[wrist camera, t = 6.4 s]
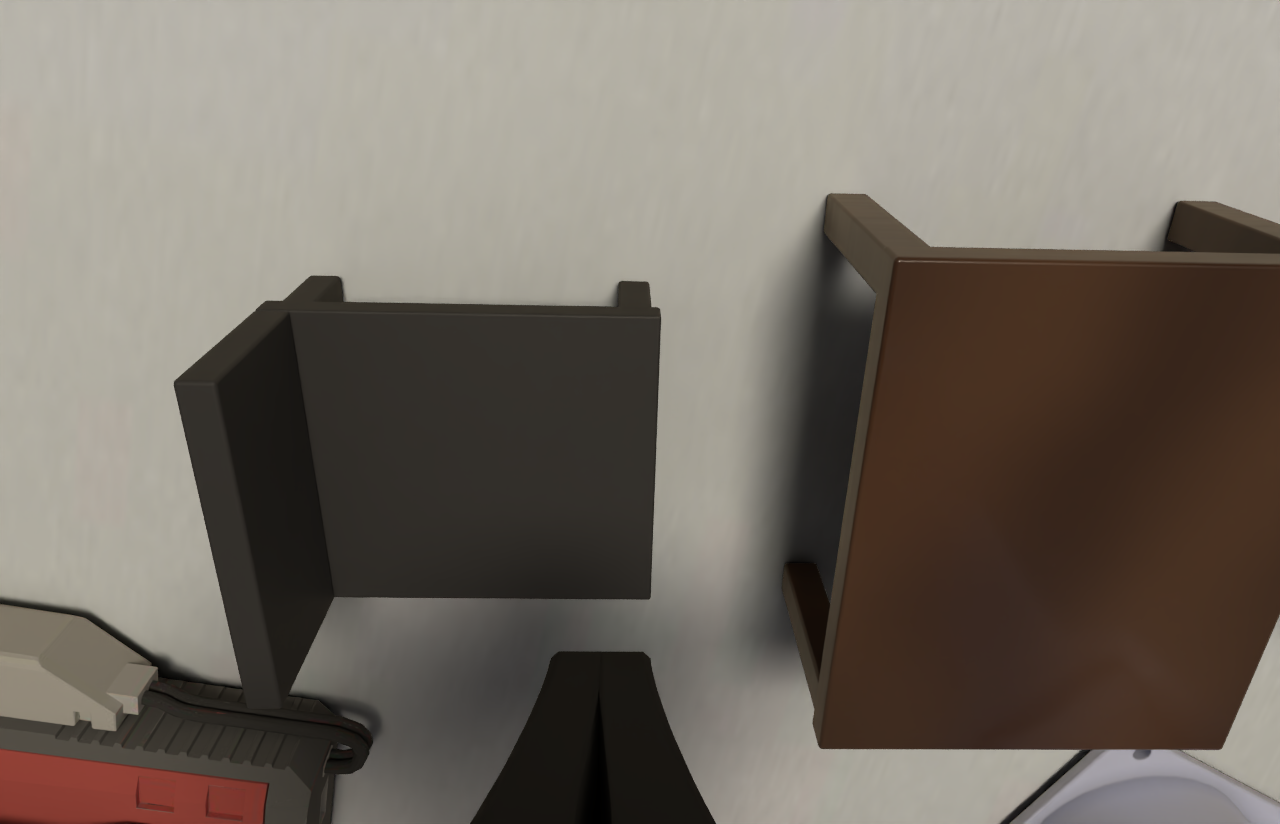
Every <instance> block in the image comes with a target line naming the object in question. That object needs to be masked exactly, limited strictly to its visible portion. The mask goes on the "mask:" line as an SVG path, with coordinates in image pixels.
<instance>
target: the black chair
mask: <svg viewBox="0 0 1280 824" xmlns="http://www.w3.org/2000/svg"><path fill="white" fill-rule="evenodd" d="M660 331H661V314H660V309H659V308H657V307H651V298H650V288H649V283H648V282H634V281H621V282H619V290H618V307H599V306H541V305H483V304H426V303H368V302H343V297H342V289H341V281H340V278H339V277H338V276H310V277H309V278H308V279H306V280H305V281H304V282H303V283H302V284H301V285H300V286H299V287H298V288H297V289H296V290H294V291H293V292H292V293H291V294H290V295H289V296H288V297H287V298H286V299H285V300H283V301H265V302H264V303H263V304H262V305H260V306H259V307H258V308H257V309H256V311H255V312H253V313H252V314H251V315H250V316H249V317H248V318H246V319H245V320H244V321H243V322H242V323H241V324H239V325H238V326H237V327H236V328H235V329H234V330H233V331H231V332H230V333H229V334H228V335H227V336H226V337H225V338H223V339H222V340H221V341H220V342H219V343H218V344H216V345H215V346H214V347H213V348H212V349H211V350H210V351H208V352H207V353H206V354H205V355H204V356H203V357H202V358H200V359H199V360H198V361H197V362H196V363H195V364H193V365H192V366H191V367H190V368H189V369H188V370H187V371H185V372H184V373H183V374H182V375H181V376H180V377H179V378H177V379H176V380H175V381H174V388H175V393H176V397H177V401H178V406H179V410H180V415H181V419H182V423H183V428H184V432H185V437H186V441H187V445H188V450H189V454H190V459H191V463H192V467H193V472H194V476H195V481H196V485H197V489H198V494H199V498H200V503H201V507H202V511H203V516H204V520H205V525H206V529H207V533H208V538H209V542H210V547H211V551H212V555H213V560H214V564H215V569H216V573H217V577H218V582H219V586H220V591H221V595H222V599H223V604H224V608H225V613H226V617H227V621H228V626H229V630H230V635H231V639H232V643H233V648H234V652H235V656H236V661H237V665H238V670H239V674H240V678H241V683H242V687H243V692H244V696H245V700H246V705H247V707H248V708H250V709H280V708H282V706H283V704H284V702H285V700H286V698H287V696H288V694H289V692H290V690H291V687H292V685H293V683H294V681H295V679H296V677H297V675H298V673H299V671H300V668H301V666H302V664H303V662H304V660H305V658H306V656H307V654H308V652H309V649H310V647H311V645H312V643H313V641H314V639H315V637H316V635H317V633H318V630H319V628H320V626H321V624H322V622H323V620H324V618H325V616H326V614H327V611H328V609H329V607H330V605H331V603H332V601H333V599H334V597H387V598H520V599H650V597H651V572H652V545H653V518H654V491H655V465H656V438H657V411H658V385H659V358H660Z"/></svg>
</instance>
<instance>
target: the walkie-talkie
mask: <svg viewBox="0 0 1280 824" xmlns="http://www.w3.org/2000/svg"><path fill="white" fill-rule="evenodd" d="M337 742H338V743H341V744H344V745H347V746H349V747H350V748H352V749H347V750H342V749H337ZM372 744H373V740H372V736H371V733H370V732H369V730H368V729H367V728H366V727H365V726H364V725H363V724H361V723H358V722H356V721H353V720H350V719H348V718H345V717H342V716H335V715H334V714H333V713H332V712H331V711H330V710H328V709H327V708H326V707H325V706H324V705H323V704H322V703H320V702H319V701H318V700H311V699H304V698H300V697H290V696H287V698H286V700H285V702H284V704H283V706H282V708H280V709H250V708H248V707H247V705H246V700H245V696H244V692H243V689H234V688H227V687H222V686H213V685H206V684H201V683H192V682H186V681H180V680H179V681H178V680H171V679H166V678H158V667H152V666H151V662H149V661H148V660H146V659H145V658H143V657H142V656H141V655H139V654H138V653H136V652H135V651H133V650H132V649H130V648H129V647H127V646H126V645H124V644H123V643H121V642H120V641H118V640H117V639H115V638H114V637H112V636H111V635H110V634H108V633H107V632H105V631H104V630H102V629H101V628H99V627H98V626H96V625H95V624H93V623H92V622H90V621H89V620H87V619H86V618H83V617H79V616H75V615H68V614H62V613H55V612H49V611H42V610H36V609H29V608H22V607H16V606H9V605H3V604H0V824H330V820H331V808H332V797H333V786H334V775H335V774H338V775H339V774H351V773H353V772H355V771H357V770H359V769H361V768H362V767H363V765H364V763H365V761H366V759H367V757H368V755H369V750H370V748H371V746H372Z"/></svg>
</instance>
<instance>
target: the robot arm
mask: <svg viewBox="0 0 1280 824" xmlns="http://www.w3.org/2000/svg"><path fill="white" fill-rule="evenodd" d="M470 824H716V823H715V821H714V819H713V817H712V815H711V813H710V812H709V810H708V808H707V806H706V804H705V802H704V800H703V798H702V796H701V794H700V792H699V790H698V788H697V786H696V784H695V782H694V780H693V778H692V776H691V774H690V772H689V769H688V767H687V765H686V763H685V760H684V758H683V756H682V754H681V751H680V749H679V747H678V745H677V742H676V740H675V738H674V735H673V733H672V730H671V728H670V725H669V723H668V720H667V717H666V714H665V712H664V709H663V706H662V703H661V700H660V697H659V694H658V691H657V687H656V684H655V680H654V676H653V671H652V667H651V660H650V658H649V657H648V656H647V655H646V654H645V653H644V652H568V651H559V652H558V653H556V654H555V655H554V656H553V657H551V660H550V664H549V668H548V671H547V674H546V677H545V680H544V683H543V685H542V688H541V691H540V693H539V695H538V698H537V700H536V703H535V705H534V707H533V709H532V712H531V714H530V716H529V718H528V720H527V723H526V725H525V727H524V729H523V731H522V733H521V735H520V737H519V739H518V741H517V742H516V744H515V746H514V748H513V750H512V752H511V754H510V756H509V758H508V760H507V762H506V764H505V766H504V768H503V769H502V771H501V773H500V775H499V776H498V778H497V780H496V782H495V783H494V785H493V787H492V788H491V790H490V792H489V793H488V795H487V797H486V798H485V800H484V802H483V803H482V805H481V807H480V809H479V810H478V812H477V814H476V815H475V817H474V818H473V820H472V822H471V823H470ZM1009 824H1280V803H1279V802H1277V801H1275V800H1273V799H1271V798H1269V797H1267V796H1265V795H1263V794H1262V793H1260V792H1258V791H1256V790H1254V789H1252V788H1250V787H1248V786H1246V785H1244V784H1242V783H1241V782H1239V781H1237V780H1235V779H1233V778H1231V777H1229V776H1227V775H1225V774H1223V773H1221V772H1220V771H1218V770H1216V769H1214V768H1212V767H1210V766H1208V765H1206V764H1204V763H1202V762H1200V761H1199V760H1197V759H1195V758H1193V757H1191V756H1189V755H1187V754H1185V753H1183V752H1181V751H1179V750H1091V751H1090V752H1089V753H1088V754H1087V755H1086V756H1085V757H1083V758H1082V759H1081V760H1080V761H1079V762H1078V763H1077V764H1076V765H1074V766H1073V767H1072V768H1071V769H1070V770H1069V771H1068V772H1067V773H1065V774H1064V775H1063V776H1062V777H1061V778H1060V779H1059V780H1058V781H1057V782H1055V783H1054V784H1053V785H1052V786H1051V787H1050V788H1049V789H1048V790H1046V791H1045V792H1044V793H1043V794H1042V795H1041V796H1040V797H1039V798H1037V799H1036V800H1035V801H1034V802H1033V803H1032V804H1031V805H1030V806H1028V807H1027V808H1026V809H1025V810H1024V811H1023V812H1022V813H1021V814H1020V815H1018V816H1017V817H1016V818H1015V819H1014V820H1013V821H1012V822H1011V823H1009Z"/></svg>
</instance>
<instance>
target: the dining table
mask: <svg viewBox="0 0 1280 824" xmlns="http://www.w3.org/2000/svg"><path fill="white" fill-rule="evenodd" d="M824 233H825V234H826V235H827V237H828V238H829V239H830V240H831V241H832V242H833V244H834V245H835V246H836V247H837V248H838V250H839V251H840V252H841V253H842V254H843V255H844V257H845V258H846V259H847V260H848V261H849V262H850V264H851V265H852V266H853V267H854V268H855V270H856V271H857V272H858V273H859V274H860V275H861V277H862V278H863V279H864V280H865V281H866V283H867V284H868V285H869V286H870V287H871V288H872V290H873V291H874V292H875V293H876V301H875V307H874V314H873V321H872V327H871V334H870V341H869V348H868V354H867V361H866V368H865V374H864V381H863V388H862V395H861V401H860V408H859V415H858V421H857V428H856V435H855V441H854V448H853V455H852V462H851V468H850V475H849V482H848V488H847V495H846V502H845V508H844V515H843V522H842V529H841V535H840V542H839V549H838V555H837V562H836V569H835V575H834V582H833V589H832V596H831V602H829V599H828V596H827V593H826V590H825V587H824V584H823V582H822V579H821V576H820V573H819V570H818V567H817V564H815V563H785V565H784V573H783V581H782V591H783V595H784V598H785V602H786V606H787V609H788V613H789V617H790V620H791V624H792V628H793V632H794V635H795V639H796V643H797V646H798V650H799V654H800V657H801V661H802V665H803V668H804V672H805V676H806V680H807V683H808V687H809V691H810V694H811V698H812V702H813V705H814V709H815V710H814V716H813V727H814V731H815V734H816V738H817V742H818V745H819V747H820V748H821V749H1041V750H1220V749H1222V748H1223V745H1224V743H1225V741H1226V738H1227V736H1228V734H1229V731H1230V729H1231V727H1232V724H1233V722H1234V720H1235V717H1236V715H1237V713H1238V710H1239V708H1240V706H1241V703H1242V701H1243V699H1244V696H1245V694H1246V692H1247V690H1248V687H1249V685H1250V683H1251V680H1252V678H1253V676H1254V673H1255V671H1256V669H1257V666H1258V664H1259V662H1260V659H1261V657H1262V655H1263V652H1264V650H1265V648H1266V645H1267V643H1268V641H1269V639H1270V636H1271V634H1272V632H1273V629H1274V627H1275V625H1276V622H1277V620H1278V618H1279V615H1280V224H1278V223H1275V222H1272V221H1269V220H1266V219H1263V218H1260V217H1258V216H1255V215H1252V214H1249V213H1246V212H1243V211H1240V210H1238V209H1235V208H1232V207H1229V206H1226V205H1223V204H1221V203H1218V202H1208V201H1180V202H1178V203H1177V207H1176V210H1175V214H1174V217H1173V221H1172V224H1171V227H1170V231H1169V234H1168V240H1170V241H1172V242H1174V243H1176V244H1179V245H1181V246H1183V247H1185V248H1188V249H1190V250H1192V251H1194V252H1160V251H1109V250H1057V249H1006V248H955V247H930V246H929V245H927V244H926V243H925V242H924V241H923V240H921V239H920V238H919V237H918V236H916V235H915V234H914V233H913V232H912V231H910V230H909V229H908V228H907V227H905V226H904V225H903V224H902V223H901V222H899V221H898V220H897V219H896V218H894V217H893V216H892V215H891V214H890V213H888V212H887V211H886V210H885V209H883V208H882V207H881V206H880V205H879V204H877V203H876V202H875V201H874V200H872V199H871V198H870V197H869V196H868V195H866V194H829V195H828V198H827V206H826V215H825V223H824Z"/></svg>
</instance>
